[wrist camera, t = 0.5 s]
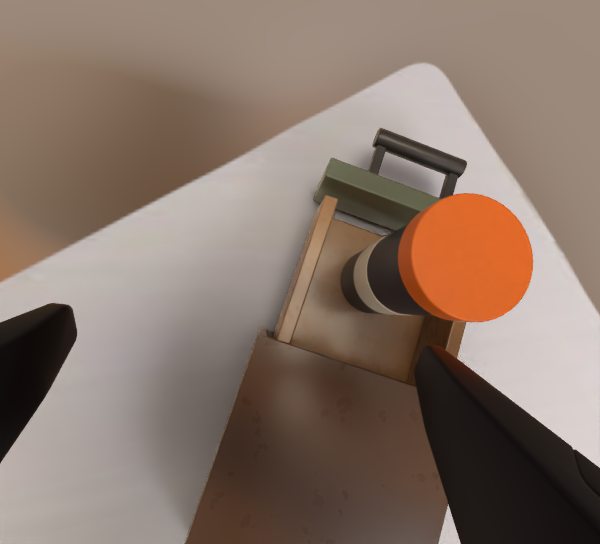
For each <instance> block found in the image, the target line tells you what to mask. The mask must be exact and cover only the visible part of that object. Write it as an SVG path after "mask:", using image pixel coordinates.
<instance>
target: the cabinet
mask: <svg viewBox="0 0 600 544" xmlns="http://www.w3.org/2000/svg"><path fill="white" fill-rule="evenodd" d="M273 334H274V332H272V331H269V330H266V329H263V328H259V330H258V333H257V336H256V339H255V342H254V345H253V348H252V350H251V353H250V356H249V359H248V362H247V365H246V368H245V370H244V373H243V376H242V379H241V382H240V385H239V388H238V390H237V393H236V396H235V399H234V402H233V405H232V408H231V411H230V413H229V416H228V419H227V422H226V425H225V428H224V431H223V433H222V436H221V439H220V442H219V445H218V448H217V451H216V453H215V456H214V459H213V462H212V465H211V468H210V471H209V474H208V476H207V479H206V482H205V485H204V488H203V491H202V494H201V496H200V499H199V502H198V505H197V508H196V511H195V514H194V517H193V519H192V522H191V525H190V528H189V531H188V534H187V537H186V540H185V543H184V544H438V542H439V538H440V534H441V530H442V526H443V522H444V518H445V514H446V510H447V506H448V501H447V498H446V495H445V492H444V488H443V485H442V482H441V479H440V476H439V472H438V469H437V466H436V463H435V460H434V457H433V453H432V450H431V447H430V444H429V441H428V438H427V434H426V431H425V427H424V422H423V418H422V413H421V408H420V403H419V398H418V393H417V388H416V386H415V385H412V384H409V383H406V382H403V381H400V380H397V379H394V378H391V377H388V376H385V375H382V374H379V373H376V372H373V371H370V370H367V369H364V368H361V367H358V366H355V365H352V364H349V363H346V362H343V361H340V360H337V359H334V358H331V357H328V356H325V355H322V354H319V353H316V352H313V351H310V350H307V349H304V348H301V347H298V346H295V345H292V344H289V343H286V342H283V341H280V340H277V339H274V338H272V337H273Z"/></svg>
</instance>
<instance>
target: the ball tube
mask: <svg viewBox="0 0 600 544" xmlns="http://www.w3.org/2000/svg"><path fill="white" fill-rule="evenodd" d="M532 270H533V255H532V249H531V244H530V241H529V238H528V236H527V233H526V231H525V229H524V228H523V226H522V224H521V223H520V221H519V220H518V219H517V217H516V216H515V215H514V214H513V213H512V212H511V211H510V210H509V209H508V208H506V207H505V206H504V205H502V204H501V203H499V202H497V201H496V200H493V199H491V198H489V197H486V196H483V195H478V194H469V193H463V194H455V195H451V196H448V197H445V198H443V199H441V200H439V201H437V202H436V203H434V204H432V205H431V206H429V207H428V208H426V209H424V210H423V211H421V212H420V213H419V214H417V215H416V216H415V217H414V218H413V219H412V220H411V221H410V223H408V224H407V225H405V226H403V227H401V228H400V229H398V230H396V231H395V232H393V233H391V234H389V235H387V236H385V237H383V238H381V239H380V240H378V241H376V242H375V243H373V244H371V245H370V246H368V247H367V248H365V249H364V250H362V251H360V252H359V253H357V254H355V255H354V256H352V257H351V258H350V259H349V260H348V261H347V263H346V264H345V266H344V268H343V270H342V274H341V288H342V292H343V294H344V296H345V298H346V299H347V301H348V302H349V303H350V304H351V305H352V306H353V307H354V308H356V309H358V310H360V311H362V312H366V313H376V314H388V315H423V316H437V317H439V318H442V319H446V320H452V321H463V322H484V321H489V320H492V319H496V318H498V317H500V316H502V315H504V314H505V313H507V312H508V311H510V310H511V309H512V308H513V307H515V306H516V305H517V304H518V302H519V301H520V300H521V299H522V297H523V296H524V294H525V292H526V290H527V288H528V286H529V283H530V280H531V276H532Z"/></svg>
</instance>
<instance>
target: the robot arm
mask: <svg viewBox="0 0 600 544" xmlns="http://www.w3.org/2000/svg"><path fill="white" fill-rule="evenodd" d="M76 338H77V328H76V323H75V318H74V313H73V309H72V308H71V306H69V305H66V304H57V303H50V304H47V305H45V306H42V307H40V308H37V309H34V310H32V311H29V312H27V313H24V314H21V315H19V316H16V317H14V318H11V319H8V320H6V321H3V322H1V323H0V463H1V461H2V460H3V458H4V457H5V455H6V454H7V453H8V451H9V450H10V448H11V447H12V445H13V444H14V442H15V441H16V439H17V438H18V436H19V435H20V433H21V432H22V431H23V429H24V428H25V426H26V425H27V423H28V422H29V420H30V419H31V417H32V416H33V414H34V413H35V411H36V410H37V408H38V407H39V405H40V404H41V402H42V401H43V399H44V398H45V396H46V394H47V393H48V391H49V389H50V388H51V386H52V384H53V382H54V380H55V378H56V376H57V374H58V373H59V371H60V369H61V367H62V365H63V363H64V361H65V360H66V358H67V356H68V354H69V352H70V350H71V348H72V347H73V345H74V343H75V341H76ZM414 378H415V383H416V388H417V393H418V398H419V403H420V408H421V413H422V418H423V422H424V427H425V431H426V434H427V438H428V441H429V444H430V447H431V450H432V453H433V457H434V460H435V463H436V466H437V469H438V472H439V476H440V479H441V482H442V485H443V488H444V492H445V495H446V498H447V501H448V504H449V507H450V511H451V514H452V517H453V520H454V523H455V526H456V530H457V533H458V536H459V539H460V542H461V544H600V468H599V467H598V466H596V465H595V464H594V463H592V462H591V461H590V460H589V459H587V458H586V457H585V456H583V455H582V454H581V453H579V452H578V451H577V450H573V448H572V447H571V446H570V445H569V444H568V443H566V442H565V441H564V440H562V439H561V438H560V437H558V436H557V435H556V434H555V433H553V432H552V431H551V430H549V429H548V428H547V427H545V426H544V425H543V424H542V423H540V422H539V421H538V420H536V419H535V418H534V417H532V416H531V415H530V414H528V413H527V412H526V411H525V410H523V409H522V408H521V407H519V406H518V405H517V404H515V403H514V402H513V401H512V400H510V399H509V398H508V397H506V396H505V395H504V394H502V393H501V392H500V391H498V390H497V389H496V388H495V387H493V386H492V385H491V384H489V383H488V382H487V381H485V380H484V379H483V378H482V377H480V376H479V375H478V374H476V373H475V372H474V371H472V370H471V369H470V368H468V367H467V366H466V365H465V364H463V363H462V362H461V361H459V360H458V359H457V358H455V357H454V356H453V355H452V354H450V353H449V352H448V351H446V350H445V349H444V348H442V347H440V346H434V345H425V346H424V347H423V349H422V351H421V353H420V355H419V358H418V360H417V362H416V365H415V367H414Z"/></svg>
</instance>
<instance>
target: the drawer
mask: <svg viewBox="0 0 600 544" xmlns="http://www.w3.org/2000/svg"><path fill="white" fill-rule="evenodd" d="M373 147H375V150H374V153H373V157H372V160H371V163H370V166H369V169H368V171H366V170H363V169H360V168H358V167H355V166H352V165H350V164H347V163H345V162H342V161H339V160H337V159H334V158H331V159H330V161H329V163H328V165H327V167H326V170H325V172H324V174H323V176H322V178H321V181H320V183H319V185H318V188H317V190H316V193H315V196H314V201H316V202H319V203H321V204H320V206H319V208H318V209H317V211H316V213H315V215H314V217H313V220H312V223H311V226H310V229H309V232H308V235H307V238H306V240H305V243H304V246H303V249H302V252H301V255H300V258H299V261H298V264H297V267H296V270H295V273H294V276H293V278H292V281H291V284H290V287H289V290H288V293H287V296H286V299H285V302H284V305H283V308H282V311H281V314H280V316H279V319H278V322H277V325H276V328H275V331H274V334H273V337H272V338H274V339H277V340H280V341H283V342H286V343H289V344H292V345H295V346H298V347H301V348H304V349H307V350H310V351H313V352H316V353H319V354H322V355H325V356H328V357H331V358H334V359H337V360H340V361H343V362H346V363H349V364H352V365H355V366H358V367H361V368H364V369H367V370H370V371H373V372H376V373H379V374H382V375H385V376H388V377H391V378H394V379H397V380H400V381H403V382H406V383H409V384H412V385H415V386H416V383H415V378H414V367H415V365H416V362H417V360H418V358H419V355H420V353H421V351H422V349H423V347H424V346H425V345H434V346H440V347H442V348H444V349H445V350H446V351H448V352H449V353H450V354H452V355H453V356H454V357H455V358H457V356H458V352H459V348H460V344H461V340H462V336H463V333H464V329H465V325H466V322H463V321H452V320H446V319H442V318H439V317H437V316H423V315H388V314H376V313H366V312H362V311H360V310H358V309H356V308H354V307H353V306H352V305H351V304H350V303H349V302H348V301H347V299H346V298H345V296H344V294H343V292H342V288H341V274H342V270H343V268H344V266H345V264H346V263H347V261H348V260H349V259H350V258H351V257H352V256H354V255H355V254H357V253H359V252H360V251H362V250H364V249H365V248H367V247H368V246H370V245H371V244H373V243H375V242H376V241H378V240H380V239H381V238H383V236H380V235H377V234H375V233H372V232H369V231H366V230H364V229H361V228H358V227H355V226H353V225H350V224H347V223H345V222H342V221H339V220H336V219H334V218H333V215H334V212H335V209H338V210H341V211H344V212H346V213H349V214H352V215H355V216H357V217H360V218H363V219H365V220H368V221H371V222H374V223H376V224H379V225H382V226H384V227H387V228H390V229H393V230H395V231H396V230H398V229H400V228H401V227H403V226H405V225H407V224H408V223H410V221H411V220H412V219H413V218H414V217H415V216H416V215H417V214H419V213H420V212H421V211H423V210H424V209H426V208H428V207H429V206H431V205H432V204H434V203H436V202H437V201H439V200H441V199H443V198H445V197H448V196H451V195H453V192H454V189H455V185H456V182H457V178H459V177H460V176H461V175H462V174H463V172H464V171H465V168H466V165H467V162H466V161H465V160H462V159H460V158H457V157H455V156H452V155H450V154H447V153H444V152H442V151H439V150H437V149H434V148H432V147H429V146H427V145H424V144H421V143H419V142H416V141H414V140H411V139H409V138H406V137H403V136H401V135H398V134H396V133H393V132H391V131H388V130H385V129H383V128H380V129H379V130H378V132H377V134H376V136H375V138H374V141H373ZM385 152H388V153H391V154H393V155H396V156H398V157H401V158H404V159H406V160H409V161H411V162H414V163H417V164H419V165H422V166H424V167H427V168H430V169H432V170H435V171H437V172H440V173H443V174H445V175H446V176H445V180H444V183H443V187H442V190H441V194H440V197H439V198H437V197H434V196H432V195H429V194H426V193H424V192H421V191H419V190H416V189H413V188H411V187H408V186H405V185H403V184H400V183H397V182H395V181H392V180H389V179H387V178H384V177H382V176H379V175H378V173H379V170H380V167H381V163H382V160H383V157H384V154H385Z"/></svg>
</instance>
